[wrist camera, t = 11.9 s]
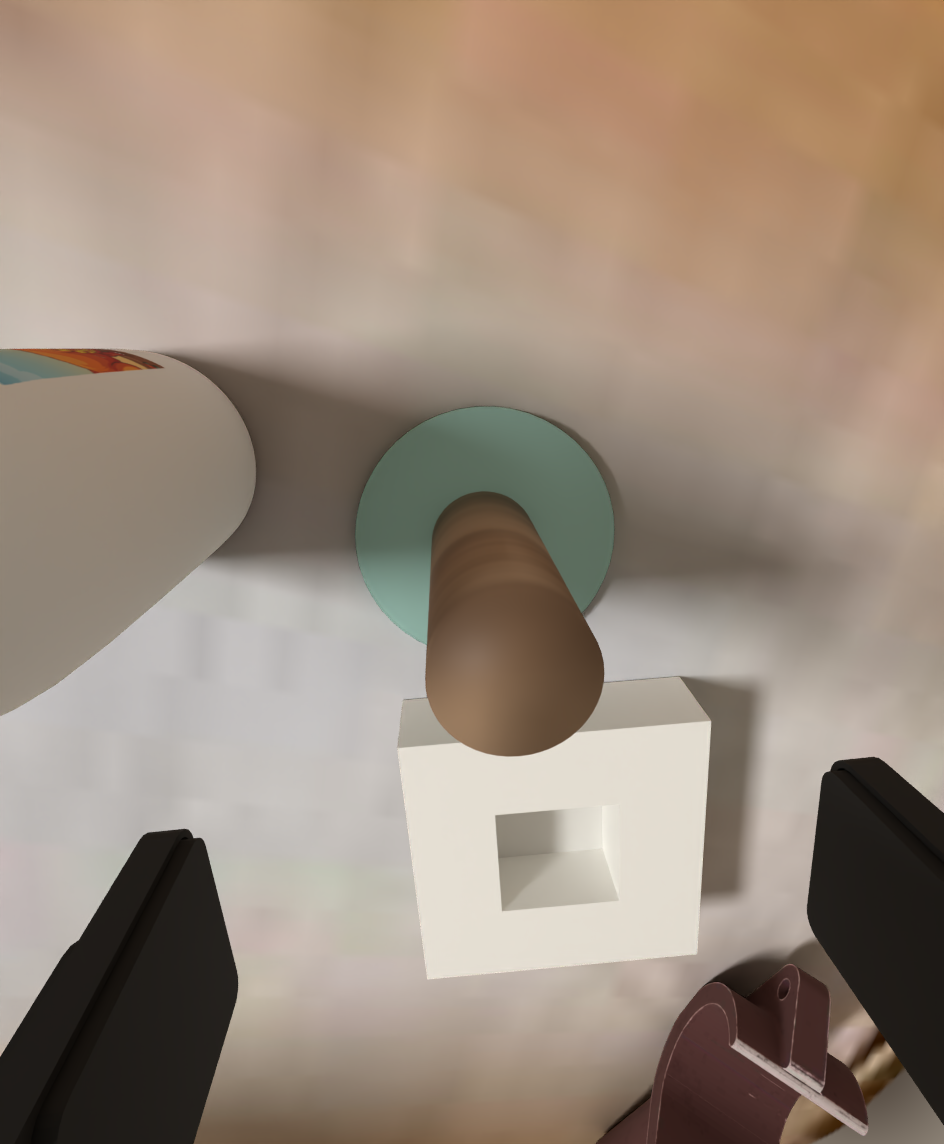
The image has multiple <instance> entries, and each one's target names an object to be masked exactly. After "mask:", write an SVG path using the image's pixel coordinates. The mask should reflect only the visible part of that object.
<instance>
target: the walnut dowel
mask: <svg viewBox="0 0 944 1144" xmlns="http://www.w3.org/2000/svg"><path fill="white" fill-rule="evenodd" d="M425 680H426V692H427V698H428V701H429V704H430V707H431V709H432V711H433V713H434V715H435V717H436V718H437V720H438V721H439V723H440V724H441V726H442V727H443V728H444V729H445V730H446V731H447V732H448V733H449V734H450V735H451V736H453V737H454V738H455V739H456V740H458V741H459V742H461V743H462V744H464V745H466V746H468V747H470V748H472V749H474V750H477V751H480V752H483V753H486V754H491V755H496V756H506V757H513V756H525V755H531V754H535V753H539V752H542V751H545V750H548V749H550V748H553V747H554V746H556V745H558V744H560V743H562V742H564V741H565V740H567V739H568V738H570V737H571V736H572V735H573V734H574V733H576V732H577V731H578V730H579V729H580V728H581V727H582V726H583V725H584V724H585V723H586V721H587V720H588V719H589V717H590V716H591V714H592V713H593V711H594V709H595V707H596V705H597V704H598V701H599V698H600V696H601V692H602V688H603V683H604V662H603V658H602V653H601V650H600V648H599V645H598V642H597V641H596V639H595V637H594V635H593V633H592V631H591V630H590V628H589V626H588V624H587V622H586V620H585V619H584V617H583V615H582V613H581V611H580V609H579V608H578V606H577V604H576V602H575V600H574V598H573V597H572V595H571V593H570V591H569V589H568V587H567V586H566V584H565V582H564V580H563V578H562V576H561V575H560V573H559V571H558V569H557V567H556V565H555V564H554V562H553V560H552V558H551V556H550V554H549V552H548V551H547V549H546V547H545V545H544V543H543V541H542V540H541V538H540V536H539V534H538V532H537V530H536V529H535V527H534V525H533V523H532V521H531V519H530V518H529V516H528V514H527V513H526V511H525V510H524V509H523V508H522V507H521V506H520V505H519V504H518V503H517V502H515V501H514V500H513V499H511V498H509V497H507V496H505V495H502V494H499V493H495V492H488V491H480V492H473V493H470V494H466V495H464V496H462V497H459V498H458V499H456V500H454V501H453V502H452V503H450V504H449V505H448V506H447V507H446V508H445V509H444V510H443V512H442V513H441V514H440V516H439V518H438V519H437V521H436V524H435V526H434V530H433V534H432V546H431V568H430V589H429V611H428V632H427V654H426V675H425Z"/></svg>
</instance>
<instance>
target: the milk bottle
mask: <svg viewBox="0 0 944 1144" xmlns="http://www.w3.org/2000/svg"><path fill="white" fill-rule="evenodd" d="M255 484H256V461H255V454H254V449H253V445H252V441H251V439H250V436H249V433H248V430H247V428H246V426H245V424H244V421H243V420H242V418H241V416H240V414H239V413H238V411H237V410H236V408H235V407H234V405H233V404H232V402H231V401H230V400H229V399H228V398H227V396H226V395H225V394H224V393H223V392H222V391H221V390H220V389H219V388H218V387H217V386H216V385H215V384H214V383H213V382H212V381H210V380H209V379H208V378H207V377H206V376H204V375H203V374H201V373H200V372H199V371H197V370H195V369H194V368H192V367H190V366H189V365H187V364H185V363H183V362H180V361H178V360H176V359H173V358H171V357H168V356H165V355H161V354H158V353H154V352H148V351H140V350H126V349H0V716H2V715H4V714H6V713H8V712H10V711H12V710H14V709H16V708H18V707H20V706H21V705H23V704H25V703H26V702H28V701H30V700H31V699H33V698H35V697H36V696H38V695H40V694H41V693H43V692H45V691H46V690H48V689H50V688H51V687H53V686H54V685H56V684H57V683H59V682H60V681H61V680H63V679H64V678H65V677H67V676H68V675H69V674H71V673H72V672H73V671H74V670H76V669H77V668H78V667H80V666H81V665H82V664H83V663H85V662H86V661H87V660H89V659H90V658H91V657H92V656H94V655H95V654H96V653H98V652H99V651H100V650H101V649H103V648H104V647H105V646H107V645H108V644H109V643H110V642H111V641H113V640H114V639H115V638H116V637H117V636H118V635H120V634H121V633H122V632H123V631H124V630H125V629H127V628H128V627H129V626H130V625H131V624H132V623H134V622H135V621H136V620H137V619H138V618H139V617H141V616H142V615H143V614H144V613H145V612H146V611H148V610H149V609H150V608H151V607H152V606H153V605H155V604H156V603H157V602H158V601H159V600H160V599H162V598H163V597H164V596H165V595H166V594H167V593H168V592H169V591H171V590H172V589H173V588H174V587H175V586H176V585H177V584H179V583H180V582H181V581H182V580H183V579H184V578H185V577H186V576H188V575H189V574H190V573H191V572H192V571H193V570H194V569H196V568H197V567H198V566H199V565H200V564H201V563H202V562H203V561H204V560H206V559H207V558H208V557H209V556H210V555H211V554H212V553H213V552H214V551H216V550H217V549H218V548H219V547H220V546H221V545H222V544H223V543H224V542H225V541H226V540H227V539H228V538H229V537H230V536H231V535H232V534H233V533H234V531H235V530H236V529H237V528H238V527H239V525H240V524H241V522H242V521H243V519H244V518H245V516H246V514H247V512H248V510H249V507H250V505H251V502H252V498H253V495H254V490H255Z"/></svg>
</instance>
